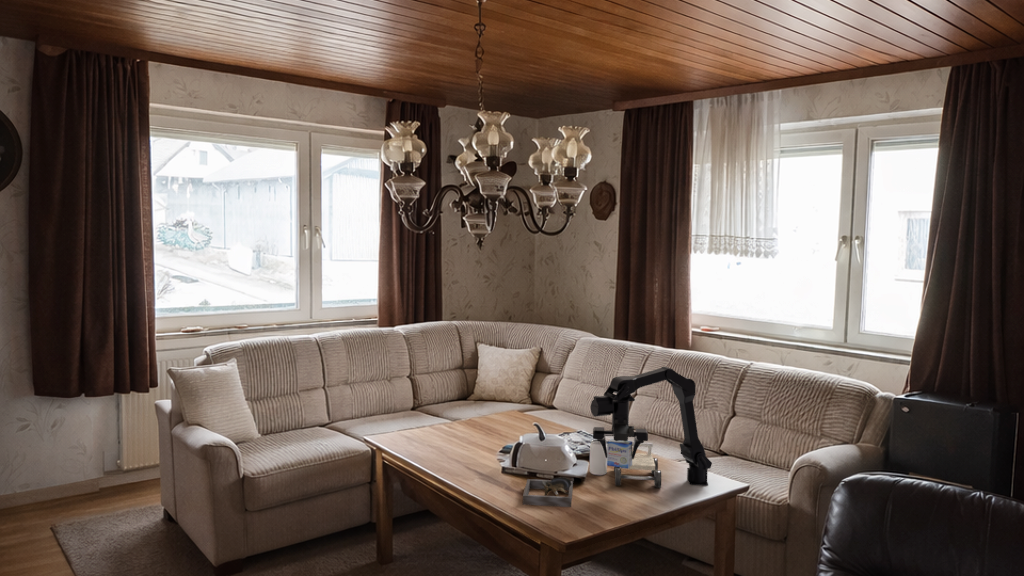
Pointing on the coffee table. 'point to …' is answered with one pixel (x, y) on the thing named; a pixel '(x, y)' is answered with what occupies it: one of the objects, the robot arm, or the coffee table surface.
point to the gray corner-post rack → (641, 467)
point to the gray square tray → (545, 499)
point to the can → (597, 459)
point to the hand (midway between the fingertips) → (619, 458)
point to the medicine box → (619, 453)
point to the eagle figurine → (556, 485)
